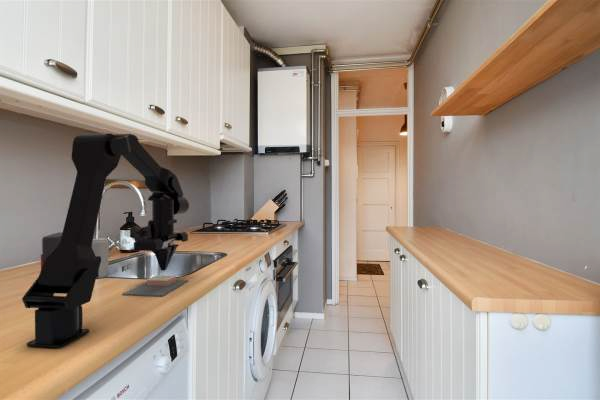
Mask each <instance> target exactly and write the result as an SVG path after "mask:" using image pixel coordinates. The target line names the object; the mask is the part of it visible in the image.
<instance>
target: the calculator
mask: <svg viewBox="0 0 600 400" xmlns="http://www.w3.org/2000/svg"><path fill="white" fill-rule="evenodd" d="M62 233H63V231H61V232H56V233H52V234H48V235H45V236H43V237H42V238H41V254H40V270H41V269H42V267H43V265H44V262H45V260H46V258H47V257H48V256H49V255H50V254H51V253H52V251H53V250H54V249H55V248H56V247H57V246H58V245H59V244H60V241H61V237H62Z"/></svg>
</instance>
